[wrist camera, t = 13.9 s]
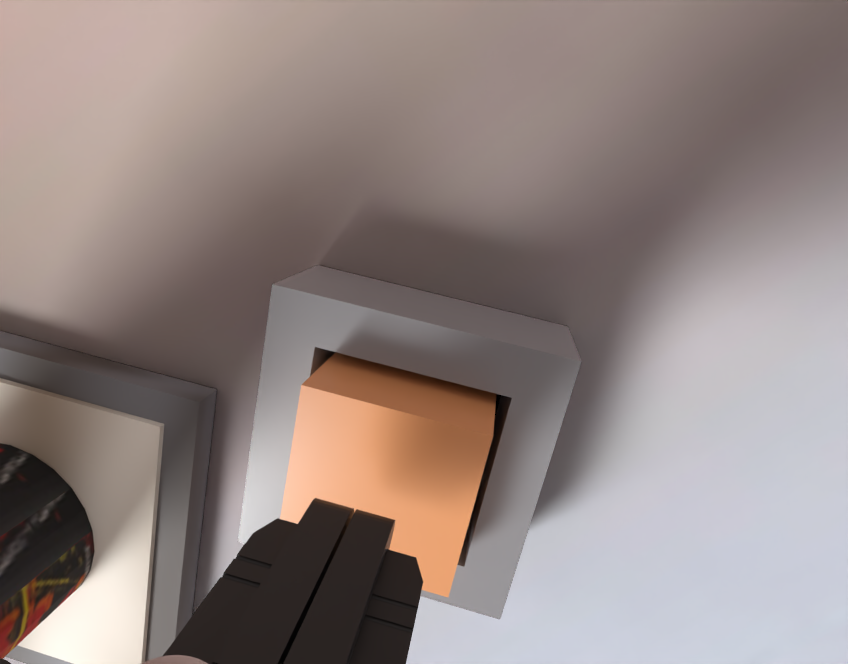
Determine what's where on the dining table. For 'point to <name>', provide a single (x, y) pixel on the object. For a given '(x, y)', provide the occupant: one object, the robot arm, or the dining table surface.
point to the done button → (393, 455)
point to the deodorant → (37, 544)
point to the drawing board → (114, 494)
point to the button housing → (432, 356)
